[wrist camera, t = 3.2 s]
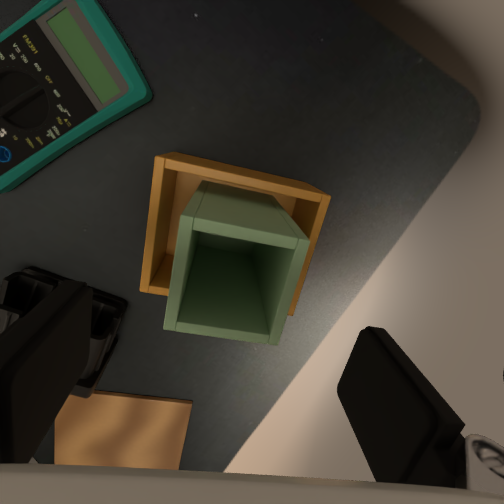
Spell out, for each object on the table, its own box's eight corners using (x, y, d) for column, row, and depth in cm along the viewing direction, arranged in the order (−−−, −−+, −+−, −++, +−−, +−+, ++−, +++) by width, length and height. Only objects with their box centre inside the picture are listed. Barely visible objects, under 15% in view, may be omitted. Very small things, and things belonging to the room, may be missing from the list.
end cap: (4, 325, 28) (-61, 379, 22) (21, 261, 26) (-45, 301, 20) (111, 358, 30) (80, 416, 24) (134, 302, 28) (107, 349, 22)
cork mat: (192, 400, 33) (192, 404, 32) (174, 483, 38) (174, 488, 37) (57, 385, 31) (54, 389, 30) (56, 476, 35) (54, 480, 35)
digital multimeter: (-74, 108, 21) (-119, 103, 19) (93, -12, 20) (71, -36, 17) (5, 196, 24) (-24, 204, 21) (159, 97, 22) (149, 91, 19)
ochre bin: (306, 182, 25) (331, 196, 19) (278, 277, 28) (293, 316, 22) (173, 151, 24) (154, 155, 17) (159, 256, 27) (139, 291, 21)
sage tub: (273, 195, 25) (311, 240, 14) (256, 260, 27) (278, 346, 16) (202, 179, 24) (180, 214, 13) (190, 247, 26) (162, 329, 15)
